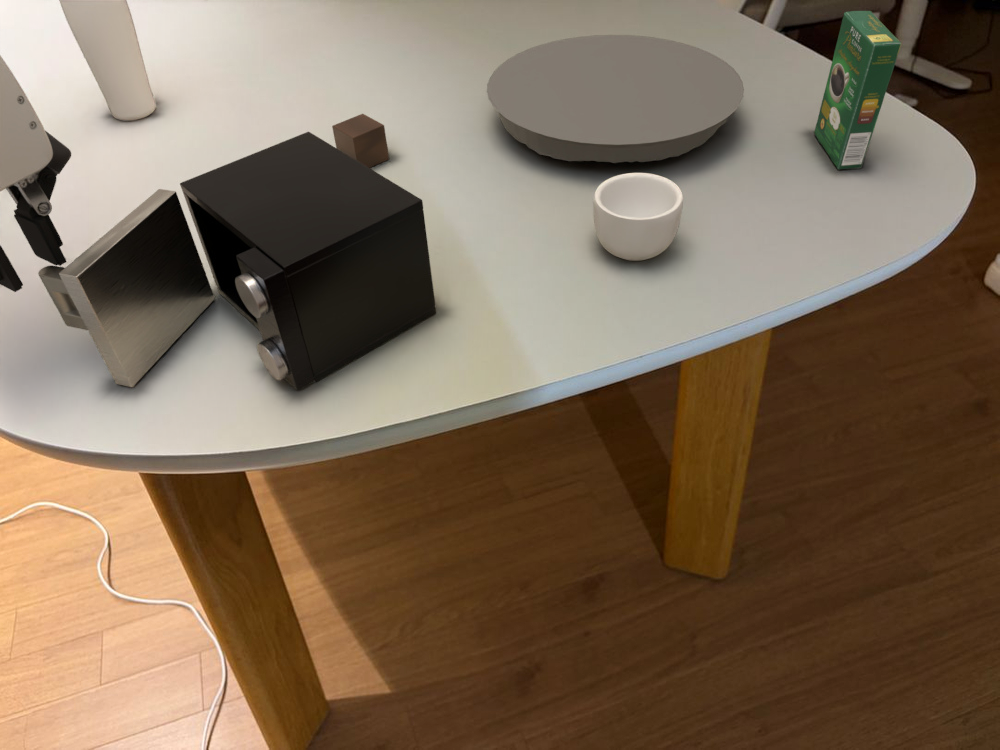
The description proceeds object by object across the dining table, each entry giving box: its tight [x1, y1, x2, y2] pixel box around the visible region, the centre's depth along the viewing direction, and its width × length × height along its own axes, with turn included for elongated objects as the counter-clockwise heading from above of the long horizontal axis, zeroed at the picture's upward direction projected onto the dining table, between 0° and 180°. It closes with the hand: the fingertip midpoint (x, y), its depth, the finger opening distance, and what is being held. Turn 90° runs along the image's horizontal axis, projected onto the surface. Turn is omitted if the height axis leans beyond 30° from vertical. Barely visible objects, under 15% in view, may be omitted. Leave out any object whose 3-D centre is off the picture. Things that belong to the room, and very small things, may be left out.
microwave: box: [179, 131, 437, 391], centre depth 65 cm, size 14×16×11 cm
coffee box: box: [813, 10, 902, 170], centre depth 80 cm, size 8×3×13 cm, turn 2°
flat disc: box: [486, 34, 745, 164], centre depth 90 cm, size 28×28×4 cm
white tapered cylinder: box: [58, 0, 157, 122], centre depth 93 cm, size 7×7×15 cm
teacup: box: [592, 172, 684, 262], centre depth 72 cm, size 10×8×5 cm
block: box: [331, 113, 390, 169], centre depth 86 cm, size 4×4×4 cm
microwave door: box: [37, 188, 216, 388], centre depth 63 cm, size 7×12×11 cm, turn 162°
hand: (29, 270), depth 60 cm, fingers open, 3 cm apart
